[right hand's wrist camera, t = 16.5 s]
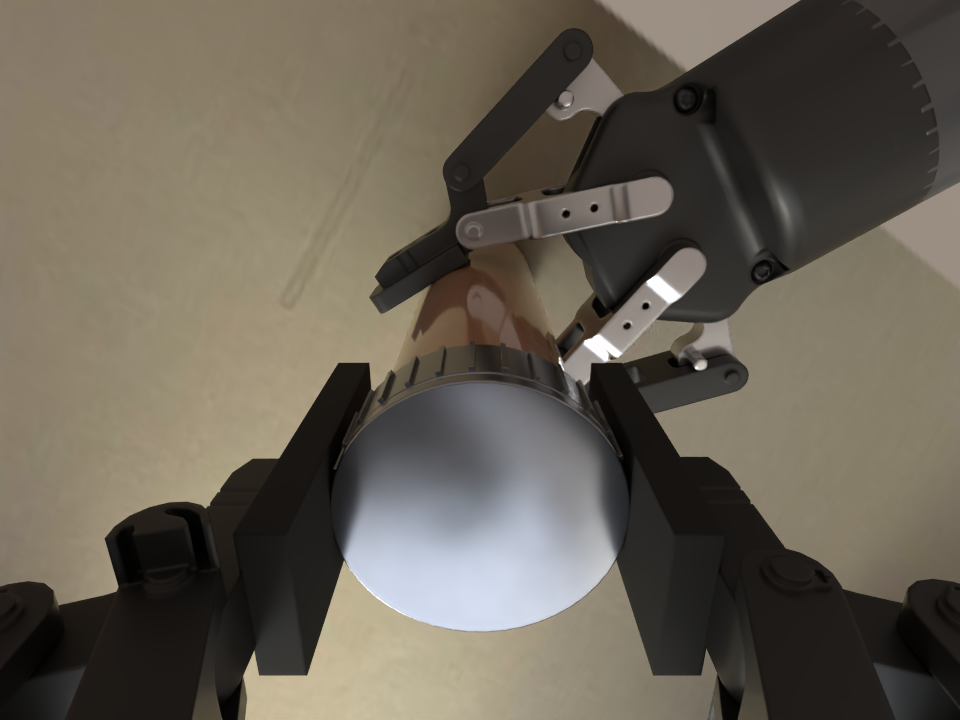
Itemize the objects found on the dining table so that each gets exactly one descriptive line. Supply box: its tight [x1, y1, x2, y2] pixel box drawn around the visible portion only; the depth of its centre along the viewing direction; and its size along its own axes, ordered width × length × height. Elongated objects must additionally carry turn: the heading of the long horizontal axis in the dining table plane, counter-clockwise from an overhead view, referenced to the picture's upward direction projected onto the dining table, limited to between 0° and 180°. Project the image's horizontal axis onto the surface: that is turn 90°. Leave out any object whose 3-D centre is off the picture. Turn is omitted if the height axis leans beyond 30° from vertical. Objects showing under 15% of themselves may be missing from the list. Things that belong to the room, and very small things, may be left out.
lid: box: [330, 341, 630, 632], centre depth 11 cm, size 6×6×2 cm
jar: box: [393, 242, 568, 374], centre depth 20 cm, size 5×5×18 cm
